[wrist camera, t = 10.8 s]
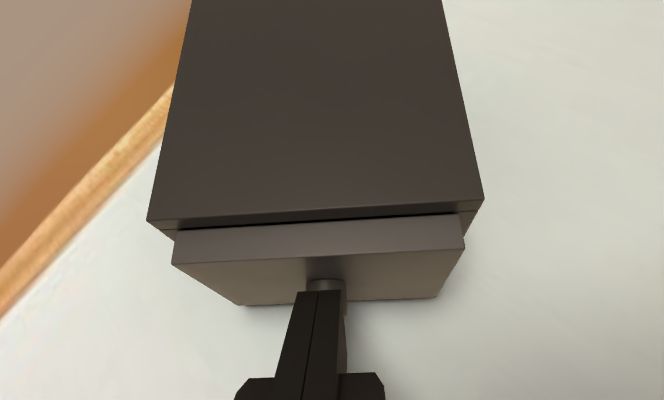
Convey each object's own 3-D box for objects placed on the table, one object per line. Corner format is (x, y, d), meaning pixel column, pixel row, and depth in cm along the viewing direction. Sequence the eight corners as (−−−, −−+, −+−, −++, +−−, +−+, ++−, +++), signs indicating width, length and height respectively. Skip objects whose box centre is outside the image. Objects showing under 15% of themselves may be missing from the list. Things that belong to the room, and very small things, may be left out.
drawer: (439, 324, 17) (472, 287, 11) (235, 332, 18) (163, 301, 12) (409, 101, 23) (420, -2, 17) (254, 115, 24) (211, 20, 18)
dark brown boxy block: (442, 276, 19) (485, 199, 12) (233, 286, 20) (144, 220, 12) (413, 82, 25) (429, -57, 17) (251, 96, 26) (197, -29, 18)
